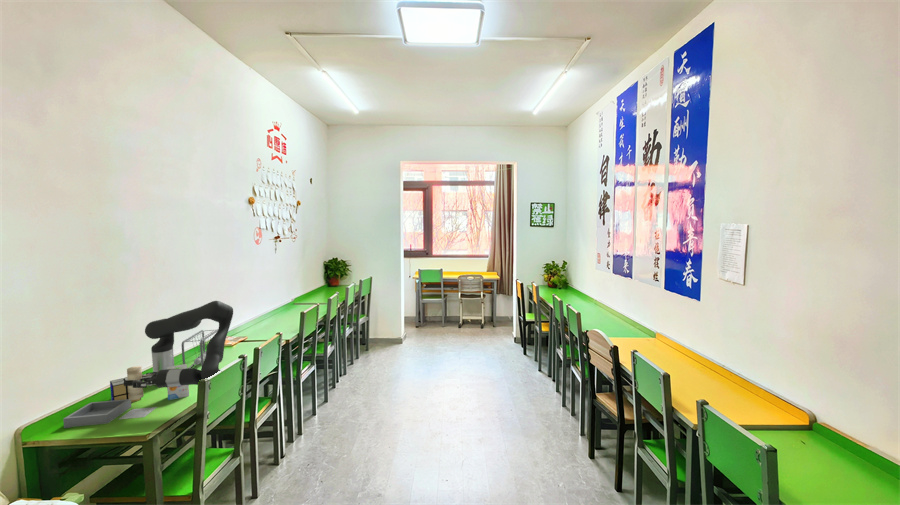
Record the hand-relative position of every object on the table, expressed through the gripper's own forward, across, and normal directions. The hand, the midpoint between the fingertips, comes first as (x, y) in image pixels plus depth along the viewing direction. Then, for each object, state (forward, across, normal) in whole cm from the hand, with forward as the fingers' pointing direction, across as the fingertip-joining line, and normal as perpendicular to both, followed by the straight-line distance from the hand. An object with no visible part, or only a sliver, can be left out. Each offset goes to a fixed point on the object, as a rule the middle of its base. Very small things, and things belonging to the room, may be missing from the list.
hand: (128, 381), depth 178 cm
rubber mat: (-3, 0, +15) cm, 15 cm away
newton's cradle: (-2, -68, +16) cm, 70 cm away
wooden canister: (-3, 0, +8) cm, 8 cm away
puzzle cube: (+11, -17, +15) cm, 25 cm away
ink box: (-12, -16, +15) cm, 25 cm away
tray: (+12, 0, +15) cm, 19 cm away
